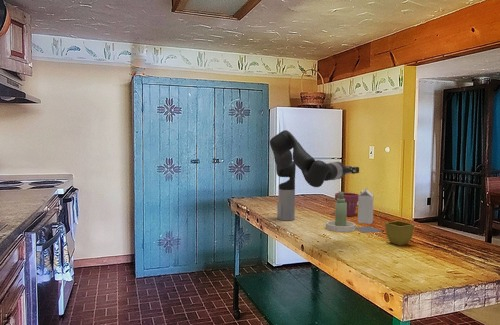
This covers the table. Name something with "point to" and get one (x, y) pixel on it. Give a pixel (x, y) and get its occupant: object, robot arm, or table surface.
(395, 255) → the table surface
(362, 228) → the mat
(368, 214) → the milk carton
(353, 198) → the plant pot
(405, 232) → the flower pot
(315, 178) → the robot arm
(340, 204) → the olive bottle
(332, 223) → the bowl
